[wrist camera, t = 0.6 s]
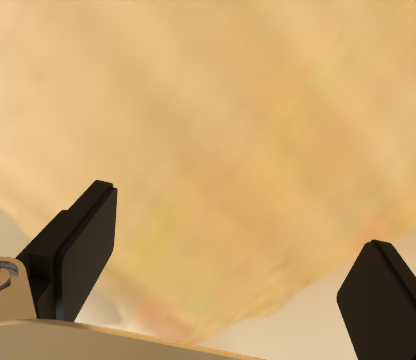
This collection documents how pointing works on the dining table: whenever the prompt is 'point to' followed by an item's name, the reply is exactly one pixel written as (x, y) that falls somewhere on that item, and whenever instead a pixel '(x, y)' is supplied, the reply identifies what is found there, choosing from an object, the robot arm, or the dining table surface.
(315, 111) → the dining table surface
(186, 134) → the dining table surface
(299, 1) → the dining table surface
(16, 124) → the dining table surface
